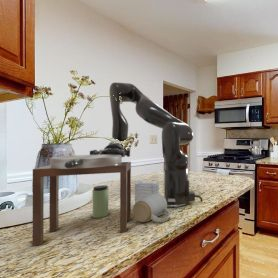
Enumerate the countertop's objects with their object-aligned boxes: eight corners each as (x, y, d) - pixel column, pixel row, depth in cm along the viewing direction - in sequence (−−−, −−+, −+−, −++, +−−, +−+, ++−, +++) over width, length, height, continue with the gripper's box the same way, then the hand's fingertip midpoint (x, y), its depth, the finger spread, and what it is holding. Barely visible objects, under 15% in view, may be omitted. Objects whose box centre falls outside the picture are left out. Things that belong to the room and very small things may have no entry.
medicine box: (159, 202, 86) (159, 181, 86) (153, 205, 81) (153, 184, 81) (141, 201, 87) (141, 181, 87) (134, 205, 82) (134, 183, 82)
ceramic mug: (130, 222, 65) (130, 198, 65) (149, 213, 73) (149, 191, 73) (159, 226, 62) (159, 201, 62) (175, 216, 70) (175, 194, 70)
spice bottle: (109, 212, 74) (109, 184, 74) (106, 216, 70) (106, 187, 70) (94, 214, 72) (94, 185, 72) (90, 218, 68) (91, 188, 68)
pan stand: (131, 216, 71) (132, 153, 71) (120, 248, 50) (120, 159, 50) (56, 225, 63) (56, 155, 63) (4, 269, 42) (5, 163, 42)
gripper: (96, 143, 94) (86, 145, 79) (131, 143, 100) (129, 145, 86) (95, 159, 94) (86, 165, 79) (131, 158, 100) (128, 163, 86)
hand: (108, 155), depth 83 cm, fingers open, 8 cm apart
